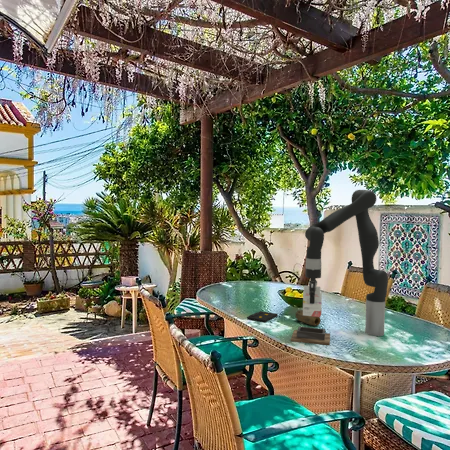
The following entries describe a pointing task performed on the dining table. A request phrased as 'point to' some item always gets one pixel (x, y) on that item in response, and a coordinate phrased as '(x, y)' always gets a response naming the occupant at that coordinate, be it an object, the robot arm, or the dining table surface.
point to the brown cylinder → (307, 318)
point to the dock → (311, 336)
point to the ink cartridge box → (312, 308)
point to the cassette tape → (262, 316)
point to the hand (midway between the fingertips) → (312, 302)
